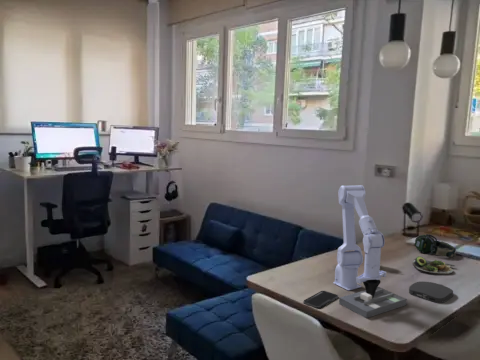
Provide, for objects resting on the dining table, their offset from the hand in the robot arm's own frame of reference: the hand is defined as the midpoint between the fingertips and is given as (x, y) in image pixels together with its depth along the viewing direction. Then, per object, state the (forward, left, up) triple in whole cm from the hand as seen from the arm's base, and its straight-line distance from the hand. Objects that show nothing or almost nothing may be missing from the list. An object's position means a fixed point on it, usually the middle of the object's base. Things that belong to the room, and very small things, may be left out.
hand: (370, 297), depth 166 cm
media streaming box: (+5, +31, -4) cm, 31 cm away
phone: (-13, -13, -4) cm, 19 cm away
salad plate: (-14, +58, -4) cm, 59 cm away
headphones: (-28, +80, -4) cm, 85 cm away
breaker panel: (0, +2, -3) cm, 4 cm away
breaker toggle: (0, -2, 0) cm, 2 cm away
